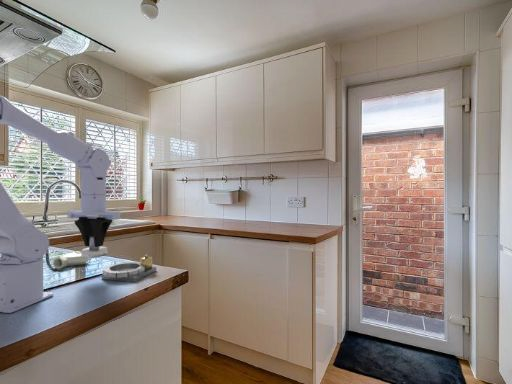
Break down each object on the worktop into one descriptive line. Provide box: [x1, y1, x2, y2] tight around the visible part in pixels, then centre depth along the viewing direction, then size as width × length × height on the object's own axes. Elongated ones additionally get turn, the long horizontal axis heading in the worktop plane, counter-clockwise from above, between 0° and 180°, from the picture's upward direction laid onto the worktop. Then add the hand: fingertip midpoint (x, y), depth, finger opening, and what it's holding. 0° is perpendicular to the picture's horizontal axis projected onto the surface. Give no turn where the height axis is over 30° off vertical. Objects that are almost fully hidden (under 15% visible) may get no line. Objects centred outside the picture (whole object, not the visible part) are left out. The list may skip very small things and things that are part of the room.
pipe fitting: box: [52, 250, 91, 270], centre depth 87 cm, size 8×4×7 cm
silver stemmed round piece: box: [80, 235, 108, 259], centre depth 74 cm, size 6×6×5 cm
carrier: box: [101, 254, 157, 283], centre depth 78 cm, size 11×11×5 cm
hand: (94, 245), depth 74 cm, fingers closed on silver stemmed round piece, 2 cm apart
